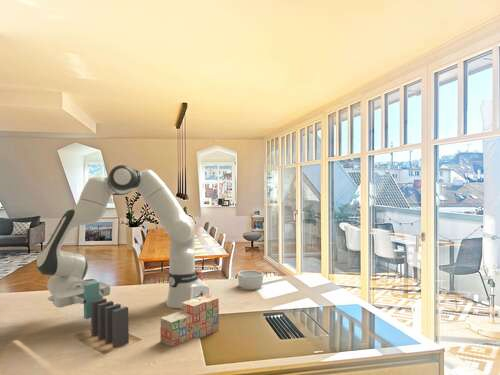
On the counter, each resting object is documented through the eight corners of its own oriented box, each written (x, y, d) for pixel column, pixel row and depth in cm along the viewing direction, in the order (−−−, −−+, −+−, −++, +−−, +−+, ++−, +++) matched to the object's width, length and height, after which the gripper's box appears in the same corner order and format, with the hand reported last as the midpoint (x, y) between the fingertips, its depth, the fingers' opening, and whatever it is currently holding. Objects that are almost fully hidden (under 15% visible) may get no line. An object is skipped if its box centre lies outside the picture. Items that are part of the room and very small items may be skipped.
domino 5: (126, 341, 131) (125, 306, 131) (128, 342, 130) (128, 307, 130) (112, 346, 127) (112, 310, 127) (115, 348, 126) (114, 311, 126)
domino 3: (111, 334, 137) (111, 300, 136) (113, 335, 136) (113, 301, 135) (98, 339, 133) (97, 304, 132) (100, 340, 132) (100, 305, 131)
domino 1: (97, 314, 142) (97, 281, 142) (99, 315, 141) (99, 282, 141) (83, 318, 138) (83, 284, 138) (86, 319, 137) (86, 285, 137)
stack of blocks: (171, 350, 127) (171, 313, 126) (160, 344, 131) (159, 308, 131) (219, 330, 143) (218, 297, 142) (207, 326, 147) (207, 294, 147)
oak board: (107, 326, 147) (107, 323, 147) (142, 342, 133) (142, 339, 133) (70, 338, 136) (70, 335, 136) (104, 357, 122) (104, 354, 122)
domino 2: (104, 331, 140) (104, 298, 139) (107, 332, 139) (106, 299, 138) (91, 335, 136) (90, 301, 135) (93, 336, 135) (93, 302, 134)
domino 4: (118, 338, 134) (118, 303, 133) (121, 339, 133) (120, 304, 132) (105, 342, 130) (104, 307, 130) (107, 344, 129) (107, 308, 129)
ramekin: (254, 292, 189) (254, 278, 189) (232, 287, 196) (232, 274, 196) (268, 285, 200) (268, 272, 200) (246, 281, 207) (246, 268, 207)
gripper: (45, 289, 140) (63, 297, 131) (99, 277, 155) (118, 284, 147) (45, 306, 140) (63, 315, 131) (99, 293, 156) (118, 300, 147)
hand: (92, 299), depth 139 cm, fingers closed on domino 1, 5 cm apart
